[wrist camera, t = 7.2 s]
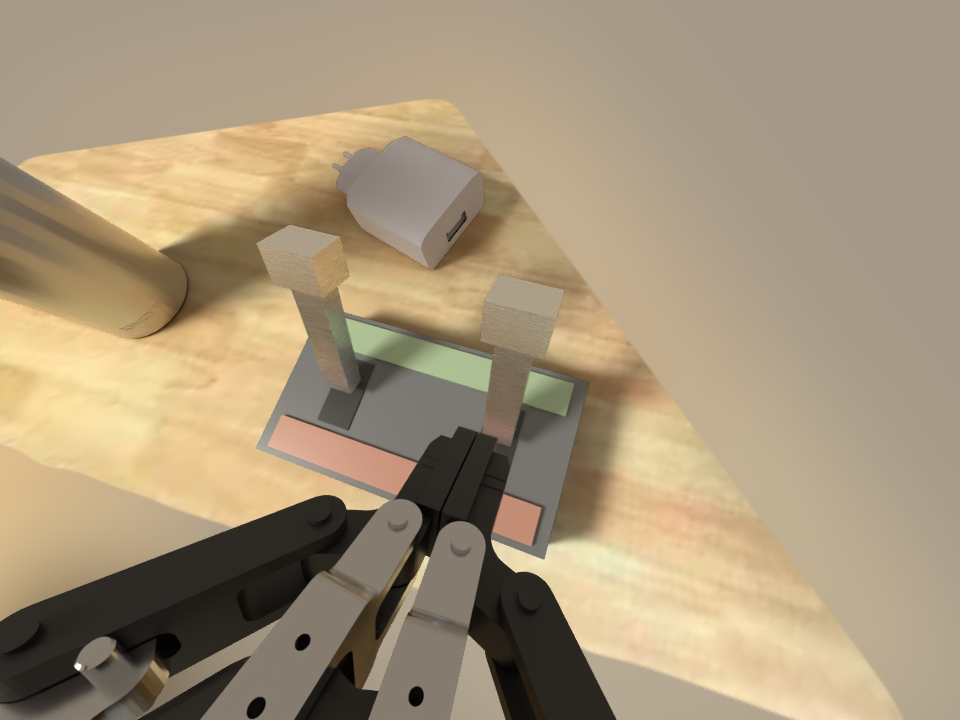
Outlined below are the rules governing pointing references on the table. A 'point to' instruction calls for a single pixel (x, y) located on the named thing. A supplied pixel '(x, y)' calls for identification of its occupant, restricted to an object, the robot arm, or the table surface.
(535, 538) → the switch box
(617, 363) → the table surface
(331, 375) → the lever on
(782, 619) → the table surface
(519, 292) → the switch lever
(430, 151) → the charger
